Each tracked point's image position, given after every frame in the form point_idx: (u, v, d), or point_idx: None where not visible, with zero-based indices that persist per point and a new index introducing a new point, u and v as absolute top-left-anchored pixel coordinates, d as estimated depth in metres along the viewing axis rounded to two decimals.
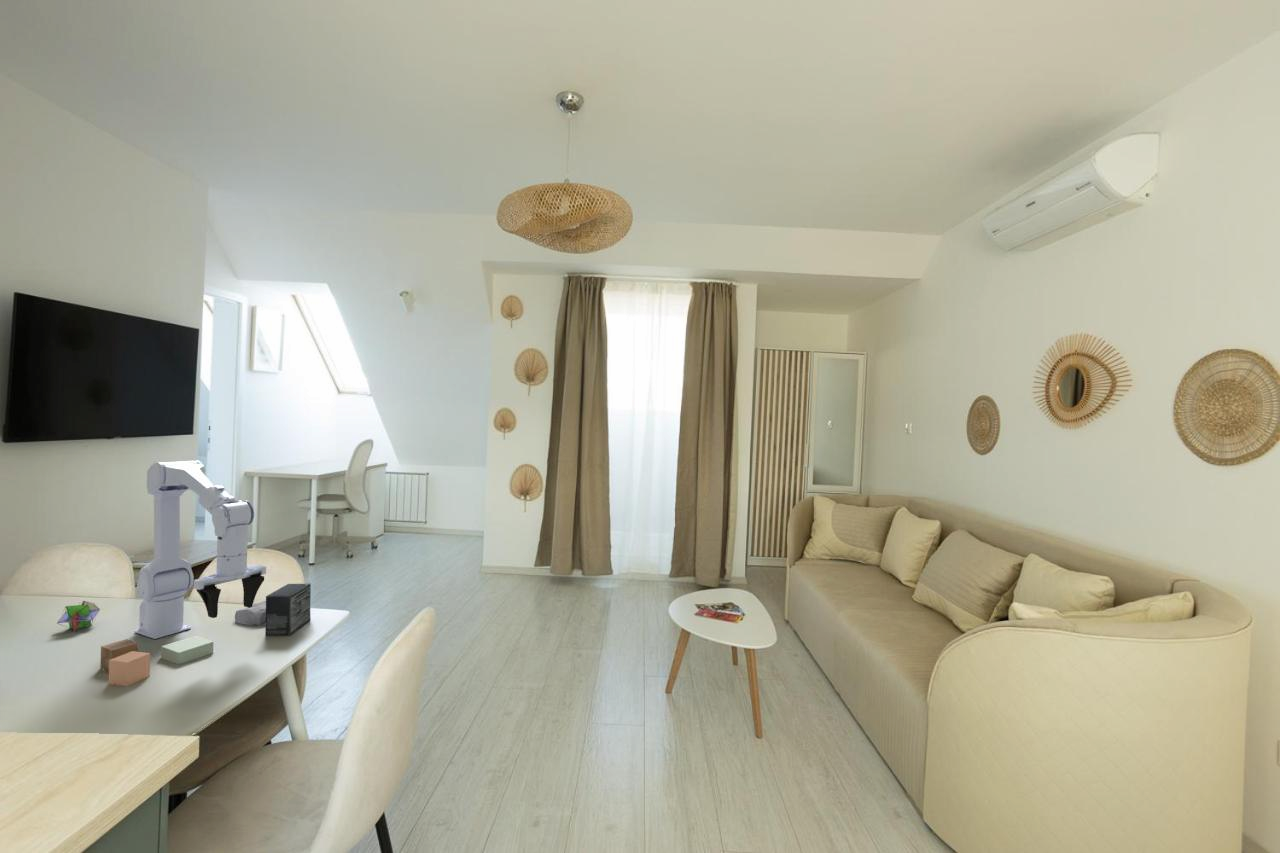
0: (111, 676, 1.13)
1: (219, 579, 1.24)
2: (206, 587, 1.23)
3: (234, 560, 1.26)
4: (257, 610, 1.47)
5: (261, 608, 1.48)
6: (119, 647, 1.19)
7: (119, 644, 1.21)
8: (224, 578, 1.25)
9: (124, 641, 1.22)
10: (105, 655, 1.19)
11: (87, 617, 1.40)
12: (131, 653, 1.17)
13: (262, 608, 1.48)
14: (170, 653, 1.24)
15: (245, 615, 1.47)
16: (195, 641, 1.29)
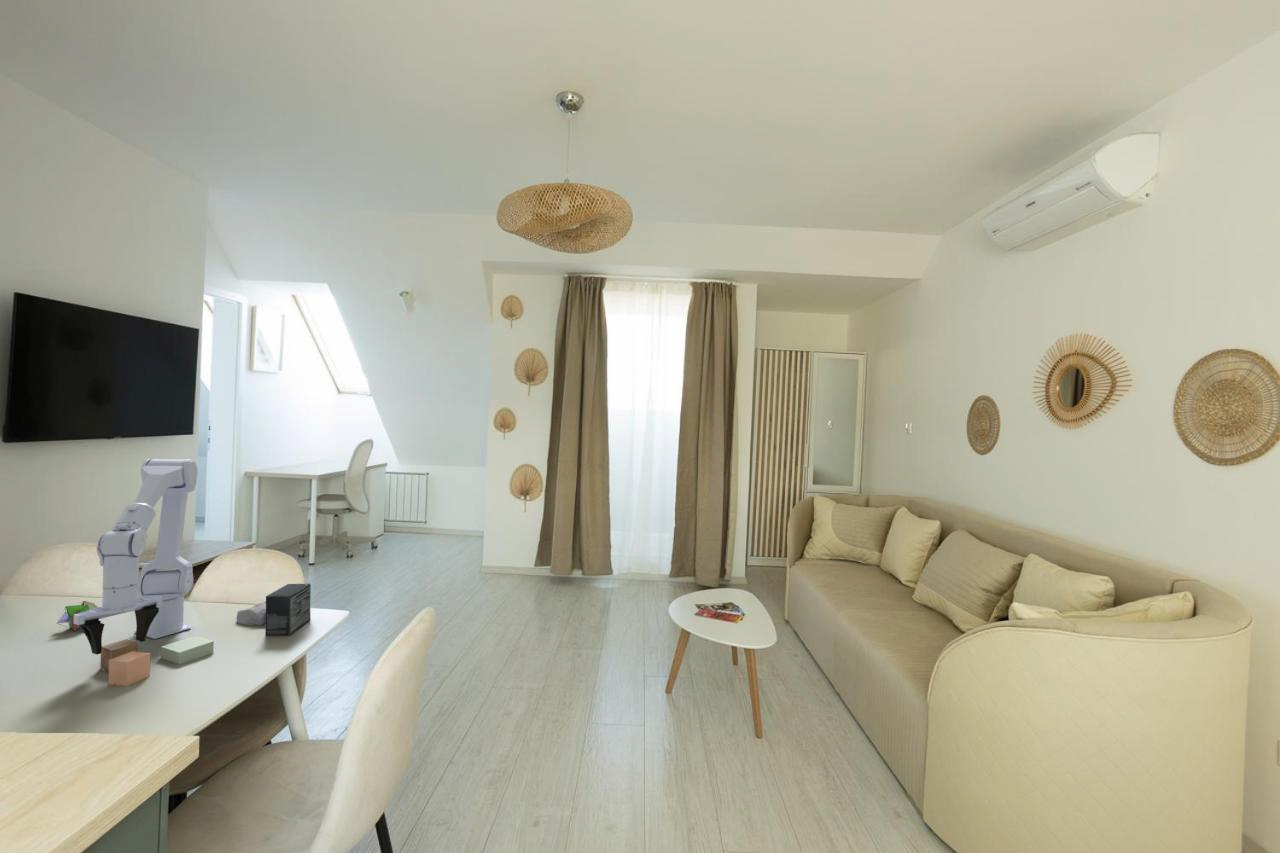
0: (111, 676, 1.13)
1: (103, 613, 1.16)
2: (87, 622, 1.15)
3: (121, 592, 1.19)
4: (259, 610, 1.47)
5: (263, 608, 1.48)
6: (119, 647, 1.19)
7: (119, 644, 1.21)
8: (109, 612, 1.17)
9: (124, 641, 1.22)
10: (105, 655, 1.19)
11: None
12: (131, 653, 1.17)
13: (264, 608, 1.48)
14: (170, 653, 1.24)
15: (247, 615, 1.47)
16: (195, 641, 1.29)
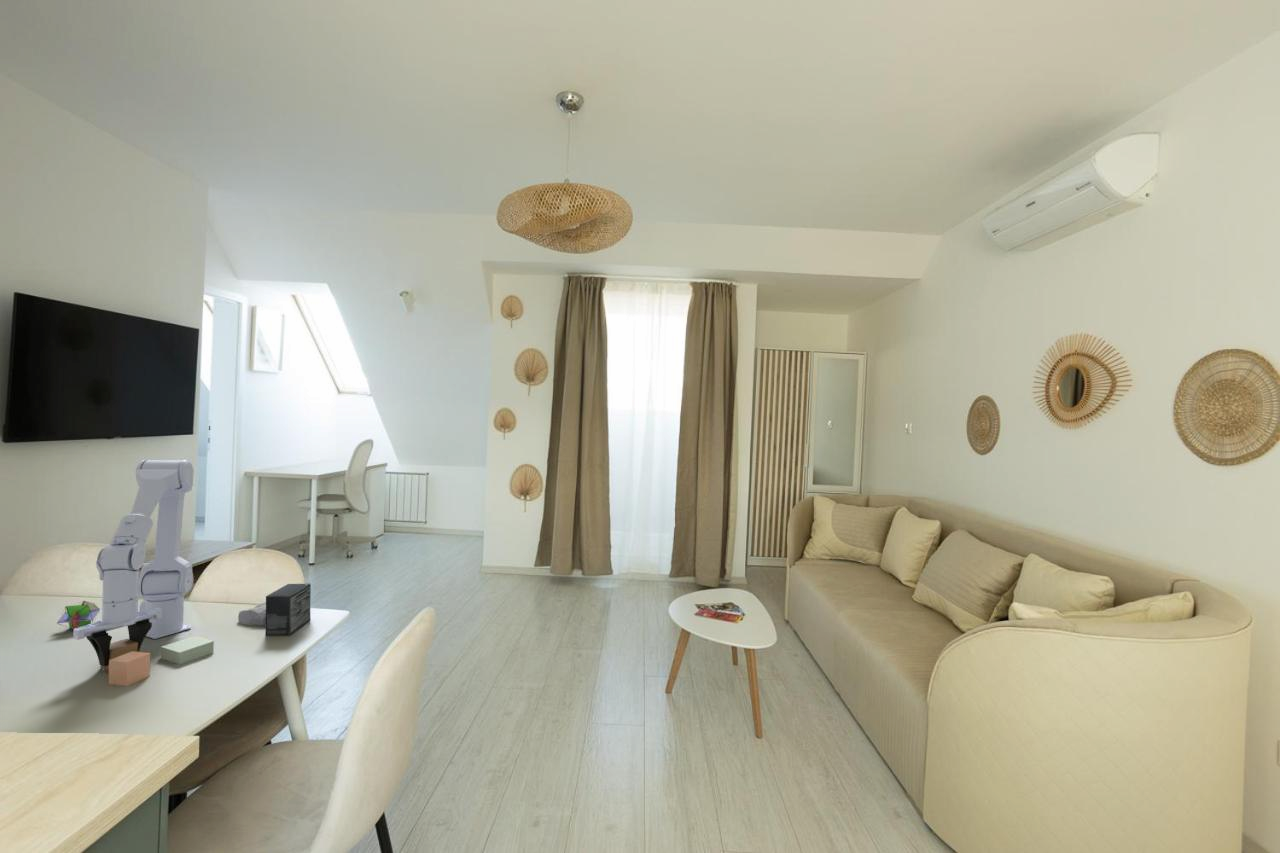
0: (111, 676, 1.13)
1: (102, 627, 1.17)
2: (95, 634, 1.16)
3: (120, 606, 1.19)
4: (261, 610, 1.47)
5: (265, 608, 1.48)
6: (119, 647, 1.19)
7: (119, 643, 1.21)
8: (108, 626, 1.17)
9: (124, 641, 1.22)
10: None
11: (87, 617, 1.40)
12: (131, 653, 1.17)
13: None
14: (171, 653, 1.24)
15: (249, 615, 1.47)
16: (195, 641, 1.29)
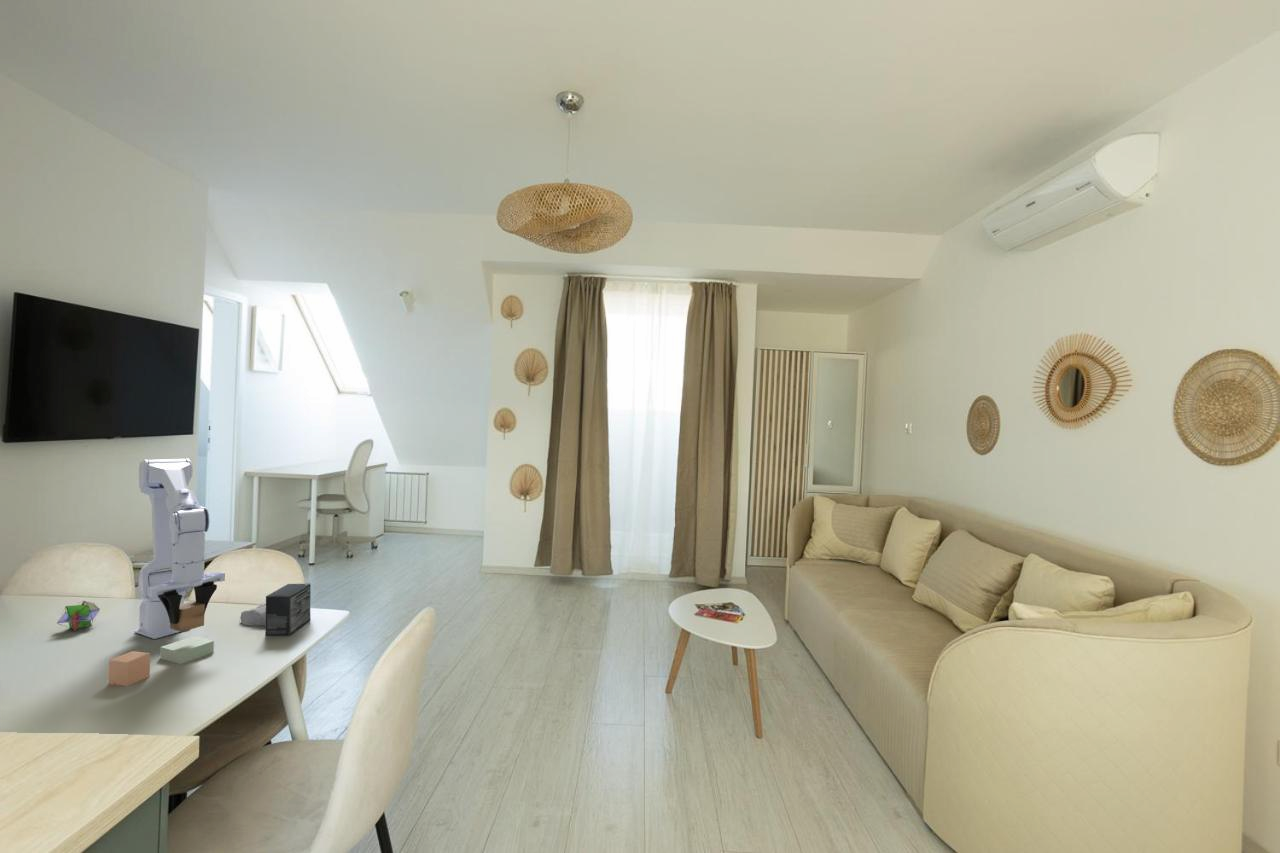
0: (111, 676, 1.13)
1: (174, 586, 1.23)
2: (167, 593, 1.23)
3: (190, 567, 1.25)
4: (263, 611, 1.47)
5: None
6: (188, 607, 1.26)
7: (187, 604, 1.27)
8: (179, 585, 1.24)
9: (191, 602, 1.29)
10: None
11: (87, 617, 1.40)
12: (131, 653, 1.17)
13: None
14: (171, 653, 1.24)
15: (251, 616, 1.47)
16: (195, 641, 1.29)
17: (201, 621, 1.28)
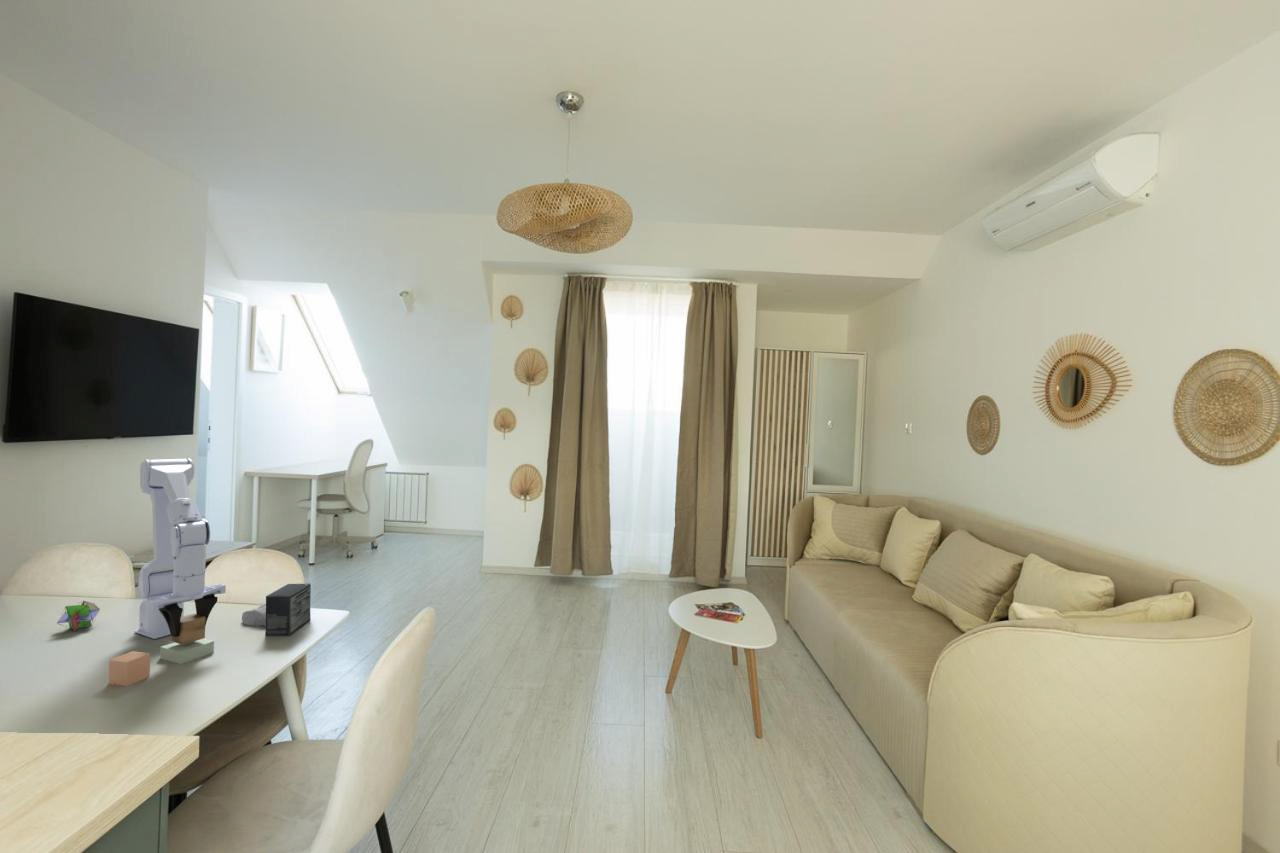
0: (111, 676, 1.13)
1: (175, 600, 1.23)
2: (168, 606, 1.23)
3: (190, 580, 1.25)
4: (265, 611, 1.47)
5: None
6: (189, 620, 1.26)
7: (188, 617, 1.28)
8: (180, 599, 1.24)
9: (192, 615, 1.29)
10: None
11: (87, 617, 1.40)
12: (131, 653, 1.17)
13: None
14: (171, 653, 1.24)
15: (252, 616, 1.47)
16: (195, 641, 1.29)
17: (202, 634, 1.28)
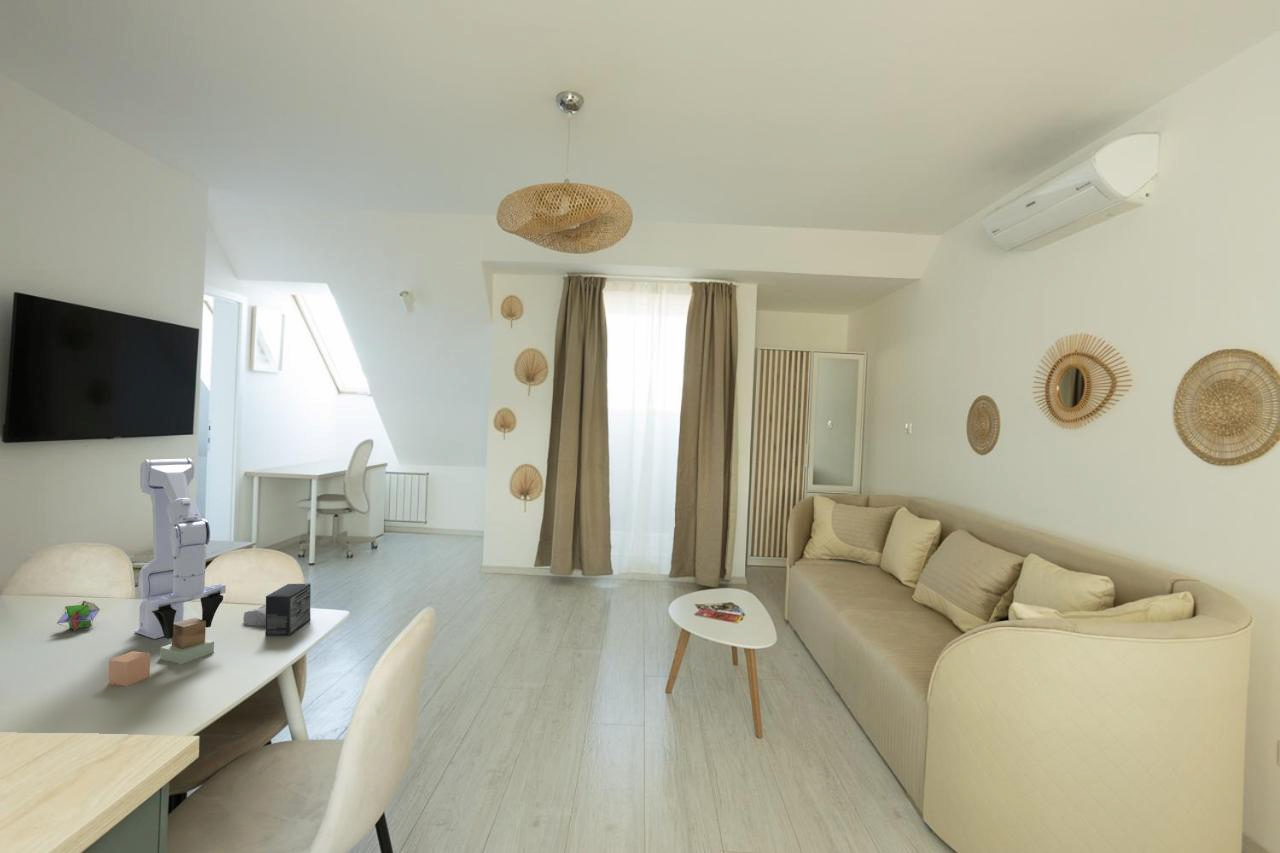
0: (111, 676, 1.13)
1: (175, 600, 1.23)
2: (161, 608, 1.22)
3: (190, 580, 1.25)
4: None
5: None
6: (189, 624, 1.26)
7: (188, 621, 1.28)
8: (180, 599, 1.24)
9: (193, 619, 1.29)
10: (177, 631, 1.26)
11: (87, 617, 1.40)
12: (131, 653, 1.17)
13: None
14: (171, 653, 1.24)
15: (254, 616, 1.47)
16: None
17: (202, 638, 1.28)
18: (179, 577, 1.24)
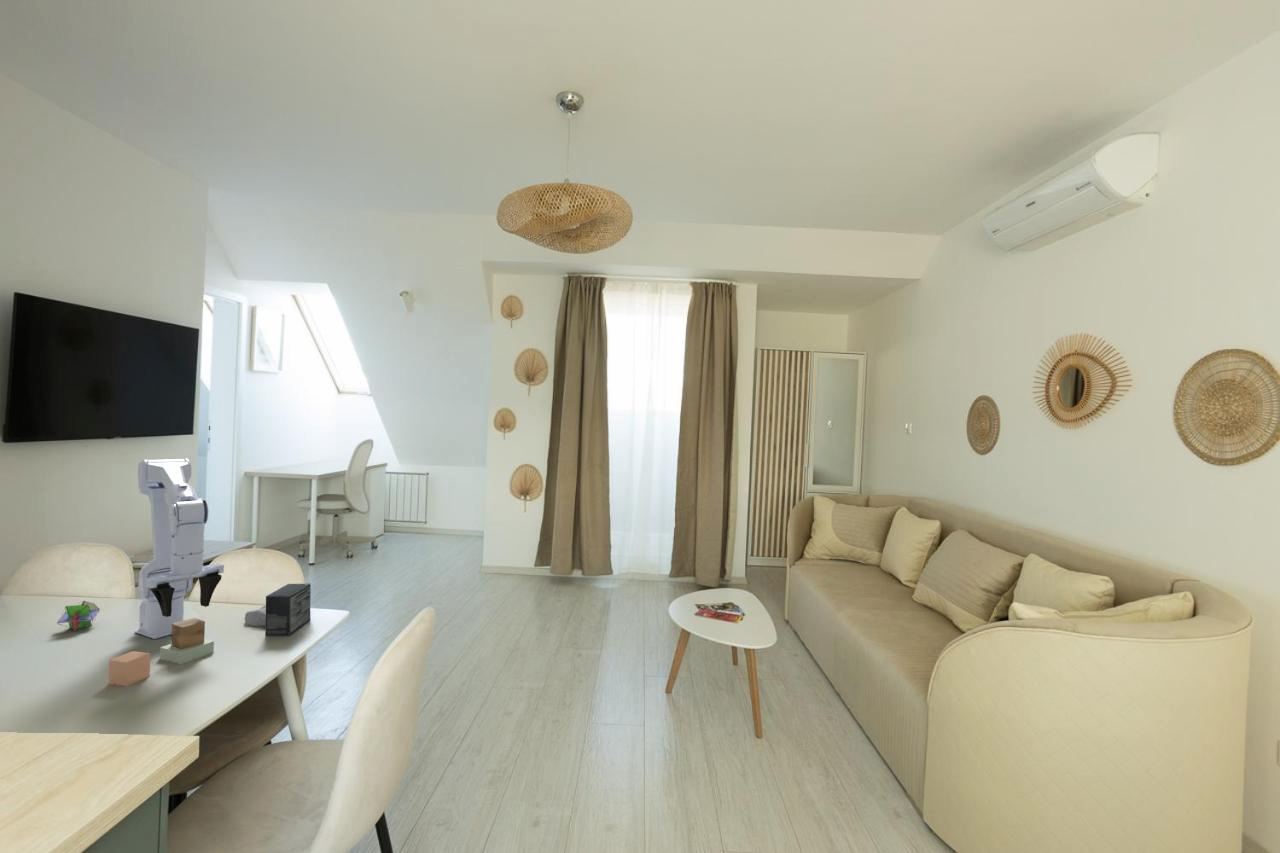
0: (111, 676, 1.13)
1: (173, 578, 1.23)
2: (159, 586, 1.22)
3: (189, 558, 1.25)
4: None
5: None
6: (188, 625, 1.26)
7: (188, 622, 1.28)
8: (178, 577, 1.24)
9: (192, 619, 1.29)
10: (176, 632, 1.26)
11: (87, 617, 1.40)
12: (131, 653, 1.17)
13: None
14: (171, 653, 1.24)
15: (255, 616, 1.47)
16: None
17: (201, 638, 1.28)
18: (177, 555, 1.24)
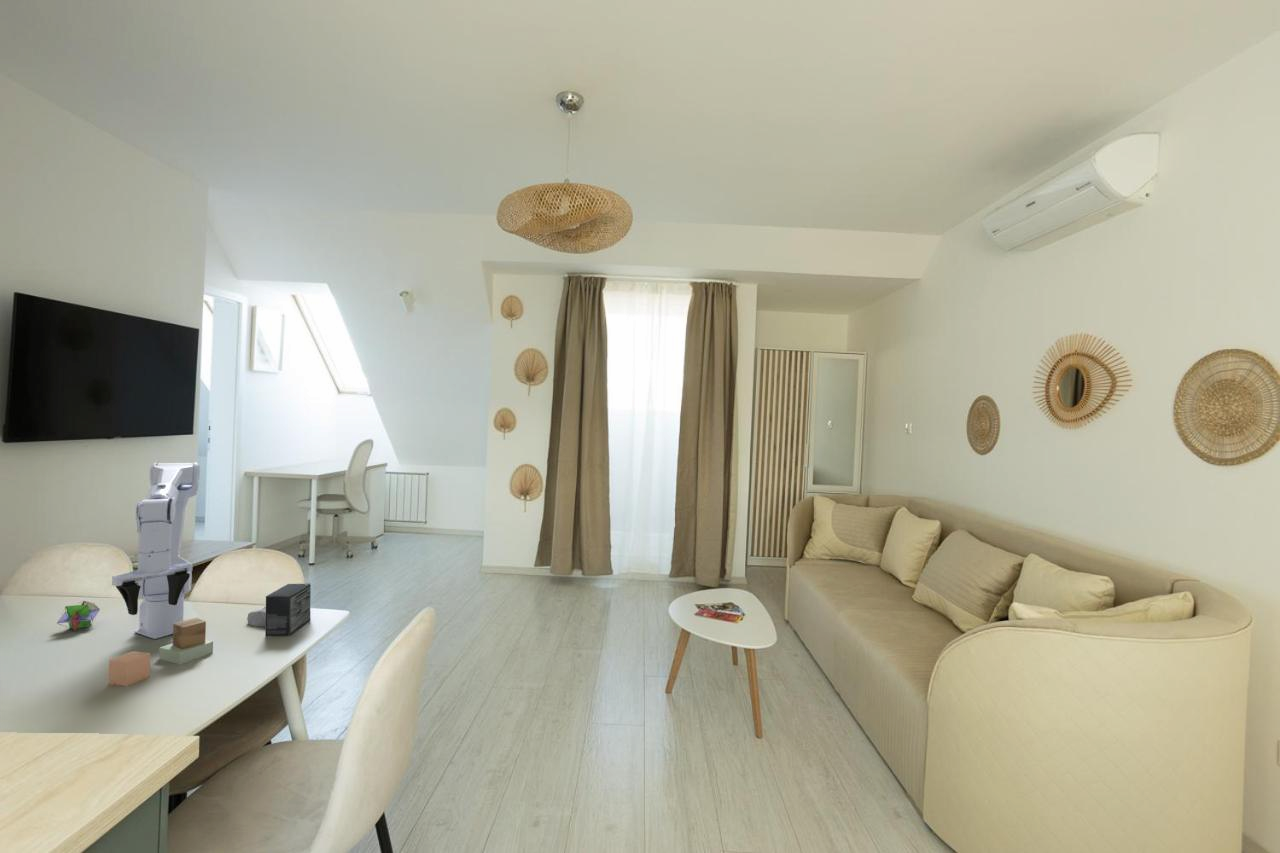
0: (111, 676, 1.13)
1: (139, 575, 1.23)
2: (125, 584, 1.22)
3: (155, 556, 1.25)
4: None
5: None
6: (189, 625, 1.26)
7: (189, 622, 1.28)
8: (144, 574, 1.24)
9: (194, 619, 1.29)
10: (177, 631, 1.26)
11: (87, 617, 1.40)
12: (131, 653, 1.17)
13: None
14: (170, 653, 1.24)
15: (258, 617, 1.47)
16: None
17: (202, 638, 1.28)
18: (144, 553, 1.25)
